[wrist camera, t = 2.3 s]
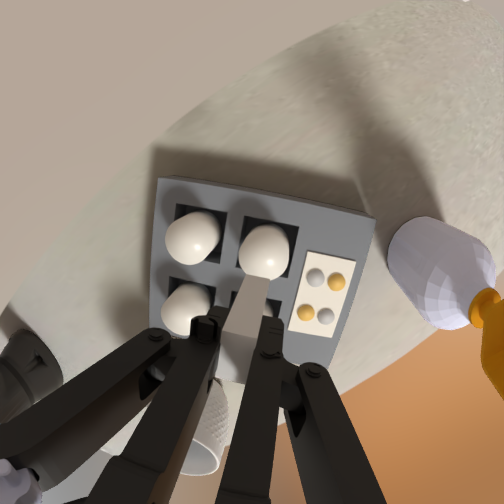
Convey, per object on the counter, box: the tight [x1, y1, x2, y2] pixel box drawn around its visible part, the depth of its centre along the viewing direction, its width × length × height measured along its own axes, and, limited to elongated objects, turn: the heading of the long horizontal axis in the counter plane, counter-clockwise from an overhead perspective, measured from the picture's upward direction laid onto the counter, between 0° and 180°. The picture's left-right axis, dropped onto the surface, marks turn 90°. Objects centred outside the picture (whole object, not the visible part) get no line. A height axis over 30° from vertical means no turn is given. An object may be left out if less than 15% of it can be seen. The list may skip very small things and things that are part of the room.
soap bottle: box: [387, 216, 504, 400], centre depth 19 cm, size 9×9×25 cm
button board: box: [149, 176, 377, 369], centre depth 32 cm, size 22×18×4 cm
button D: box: [239, 223, 289, 280], centre depth 28 cm, size 4×4×4 cm
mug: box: [147, 379, 229, 476], centre depth 34 cm, size 15×11×13 cm
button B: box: [165, 210, 222, 265], centre depth 29 cm, size 4×4×4 cm
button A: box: [161, 281, 212, 336], centre depth 31 cm, size 4×4×4 cm
